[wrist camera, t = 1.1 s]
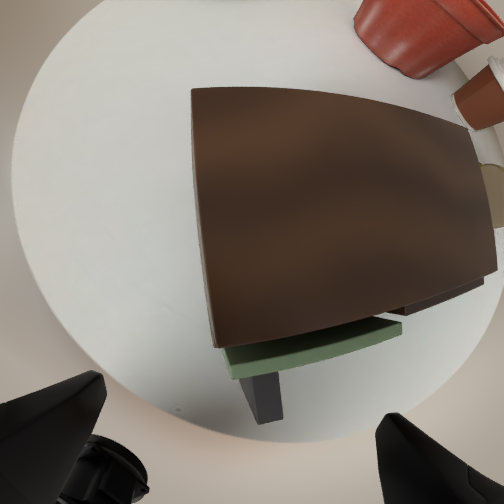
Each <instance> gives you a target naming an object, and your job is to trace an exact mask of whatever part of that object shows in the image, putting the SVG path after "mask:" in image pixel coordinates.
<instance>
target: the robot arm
mask: <svg viewBox="0 0 504 504" xmlns="http://www.w3.org/2000/svg"><path fill="white" fill-rule="evenodd" d="M106 397H107V391H106V386H105V382H104V377H103V375H102V374H101V373H98V372H96V371H93V370H90V371H87V372H85V373H82V374H80V375H77V376H75V377H72V378H70V379H67V380H65V381H62V382H60V383H57V384H54V385H52V386H49V387H46V388H44V389H42V390H39V391H36V392H33V393H30V394H27V395H25V396H22V397H19V398H16V399H14V400H11V401H8V402H6V403H2V404H0V504H132V500H133V499H134V498H137V497H140V496H142V495H145V494H147V493H149V487H148V486H147V485H146V484H144V483H143V482H142V481H140V480H139V479H138V478H137V477H135V476H134V475H133V474H131V473H130V472H129V471H128V470H127V469H125V468H124V467H123V466H122V465H121V464H119V463H118V462H117V461H116V460H115V459H114V458H113V457H111V456H110V455H109V454H108V453H107V452H106V451H105V450H104V449H103V448H102V447H101V446H100V445H98V444H96V443H91V444H89V445H87V446H86V447H84V446H85V445H86V443H87V441H88V439H89V437H90V435H91V433H92V431H93V429H94V426H95V424H96V422H97V419H98V417H99V414H100V412H101V409H102V407H103V405H104V402H105V400H106ZM375 438H376V447H377V459H378V470H379V476H380V482H381V487H382V492H383V498H384V503H385V504H504V486H502V485H500V484H498V483H496V482H495V481H493V480H491V479H489V478H487V477H486V476H484V475H482V474H481V473H479V472H478V471H476V470H475V469H473V468H472V467H470V466H469V465H468V466H467V464H466V463H465V462H463V461H462V460H461V459H459V458H458V457H457V456H455V455H454V454H452V453H451V452H450V451H448V450H447V449H446V448H444V447H443V446H442V445H440V444H439V443H437V442H436V441H435V440H433V439H432V438H431V437H429V436H428V435H427V434H425V433H424V432H423V431H422V430H420V429H419V428H418V427H416V426H415V425H414V424H412V423H411V422H410V421H408V420H407V419H406V418H405V417H403V416H402V415H401V414H399V413H387V414H386V415H385V416H384V418H383V419H382V421H381V423H380V424H379V426H378V427H377V429H376V433H375ZM94 448H96V449H97V450H96V449H94ZM142 488H143V489H142Z"/></svg>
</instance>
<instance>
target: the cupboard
mask: <svg viewBox="0 0 504 504" xmlns="http://www.w3.org/2000/svg"><path fill="white" fill-rule="evenodd" d="M191 143H192V170H193V183H194V195H195V206H196V217H197V227H198V237H199V246H200V255H201V263H202V271H203V279H204V287H205V294H206V301H207V309H208V315H209V322H210V329H211V335H212V341H213V347H214V348H226V347H233V346H239V345H245V344H251V343H257V342H262V341H268V340H273V339H278V338H283V337H288V336H293V335H298V334H303V333H307V332H312V331H316V330H320V329H325V328H329V327H333V326H337V325H341V324H345V323H349V322H352V321H356V320H360V319H363V318H367V317H371V316H374V315H377V314H381V313H384V312H386V313H392V314H398V315H404V316H407V315H410V314H413V313H416V312H418V311H421V310H424V309H426V308H429V307H432V306H434V305H437V304H439V303H442V302H444V301H447V300H449V299H452V298H454V297H456V296H459V295H461V294H463V293H466V292H468V291H470V290H472V289H475V288H477V287H479V286H481V285H483V284H484V276H486V275H489V274H491V273H493V272H495V271H497V270H498V268H497V255H496V245H495V237H494V230H493V223H492V217H491V212H490V206H489V201H488V197H487V192H486V188H485V184H484V180H483V176H482V172H481V169H480V165H479V162H478V158H477V155H476V152H475V149H474V146H473V143H472V140H471V137H470V134H469V132H468V129H467V128H465V127H462V126H460V125H457V124H454V123H452V122H449V121H446V120H443V119H440V118H437V117H434V116H431V115H428V114H425V113H421V112H418V111H415V110H411V109H407V108H404V107H400V106H396V105H392V104H388V103H383V102H379V101H374V100H369V99H364V98H359V97H353V96H348V95H341V94H335V93H327V92H320V91H311V90H301V89H288V88H271V87H211V88H194V89H192V90H191Z"/></svg>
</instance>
